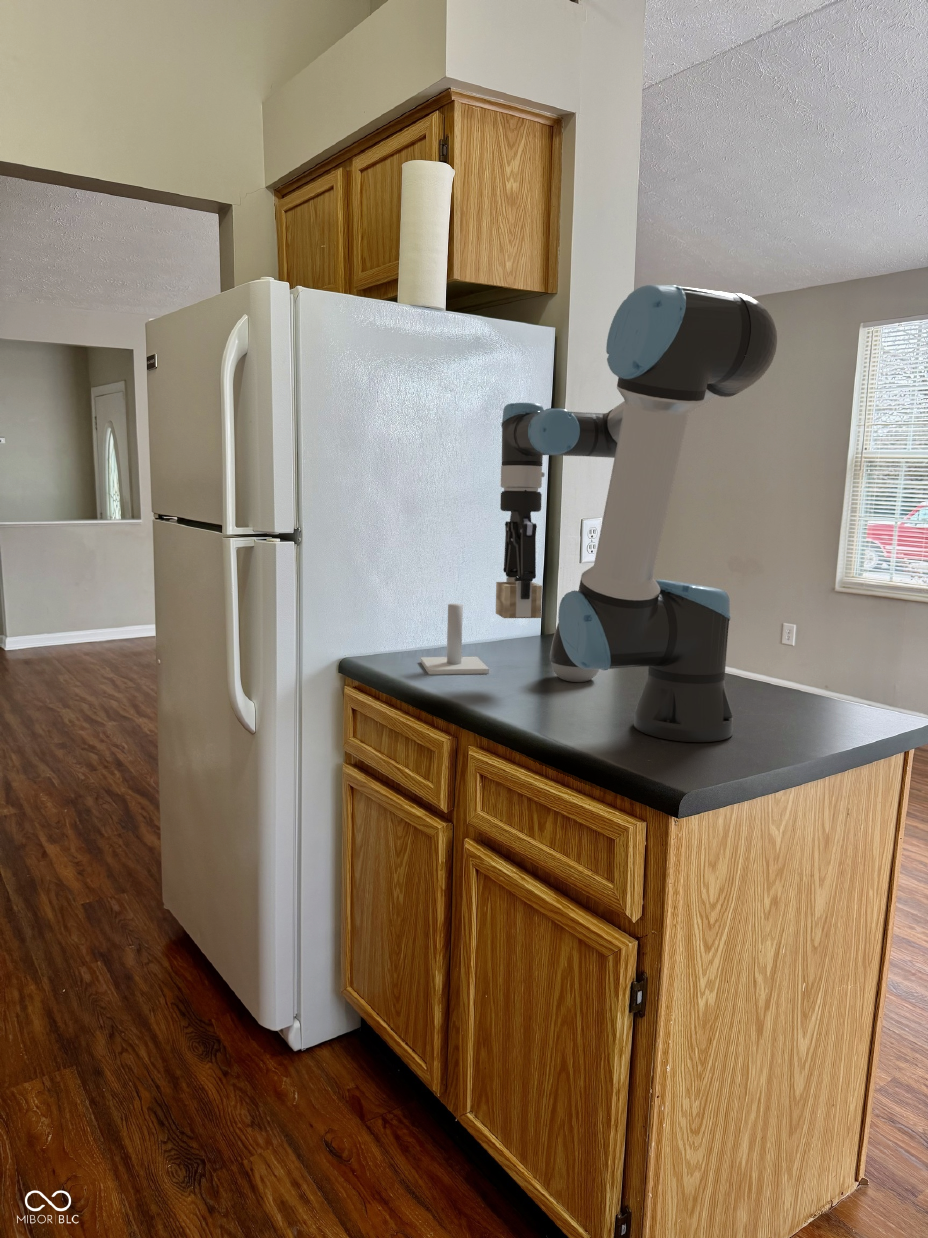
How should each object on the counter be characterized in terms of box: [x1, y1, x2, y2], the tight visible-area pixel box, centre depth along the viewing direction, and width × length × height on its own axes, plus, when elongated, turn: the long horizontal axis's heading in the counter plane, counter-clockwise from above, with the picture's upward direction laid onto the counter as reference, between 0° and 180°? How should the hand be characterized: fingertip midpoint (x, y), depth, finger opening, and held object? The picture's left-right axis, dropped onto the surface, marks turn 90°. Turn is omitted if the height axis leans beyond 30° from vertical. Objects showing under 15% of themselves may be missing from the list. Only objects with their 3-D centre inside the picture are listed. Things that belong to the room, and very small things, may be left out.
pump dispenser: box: [549, 621, 600, 683], centre depth 171 cm, size 10×10×15 cm
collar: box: [495, 581, 543, 619], centre depth 164 cm, size 7×7×6 cm
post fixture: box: [420, 603, 490, 676], centre depth 179 cm, size 12×12×13 cm
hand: (517, 613), depth 165 cm, fingers closed on collar, 7 cm apart
